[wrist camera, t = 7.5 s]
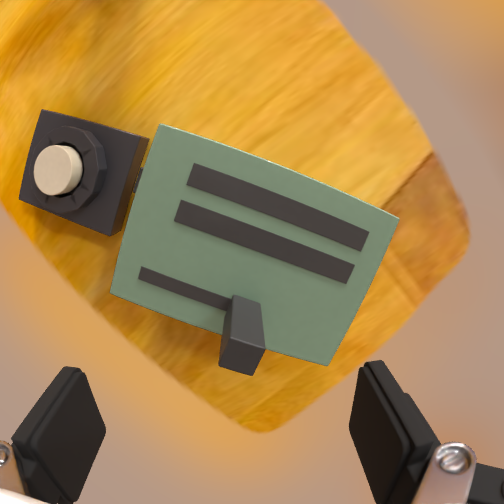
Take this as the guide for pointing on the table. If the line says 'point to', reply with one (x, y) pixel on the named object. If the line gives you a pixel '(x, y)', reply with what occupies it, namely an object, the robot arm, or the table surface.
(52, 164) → the button
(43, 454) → the robot arm
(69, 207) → the control block
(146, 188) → the toaster
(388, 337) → the table surface
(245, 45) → the table surface
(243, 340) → the slider
